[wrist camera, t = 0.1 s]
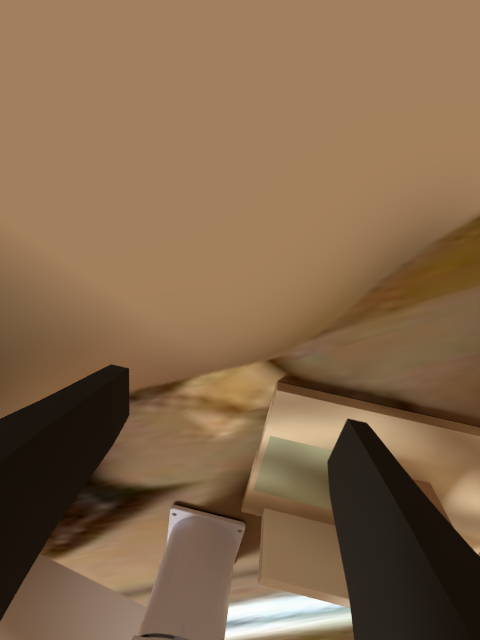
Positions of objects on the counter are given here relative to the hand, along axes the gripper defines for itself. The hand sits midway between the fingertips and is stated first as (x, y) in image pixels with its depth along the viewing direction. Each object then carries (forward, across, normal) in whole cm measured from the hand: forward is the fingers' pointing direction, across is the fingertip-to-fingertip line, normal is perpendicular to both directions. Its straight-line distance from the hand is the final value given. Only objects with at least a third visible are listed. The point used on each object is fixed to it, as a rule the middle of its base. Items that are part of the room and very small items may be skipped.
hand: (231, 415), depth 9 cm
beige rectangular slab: (+9, -13, +20) cm, 25 cm away
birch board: (+10, -13, +13) cm, 21 cm away
